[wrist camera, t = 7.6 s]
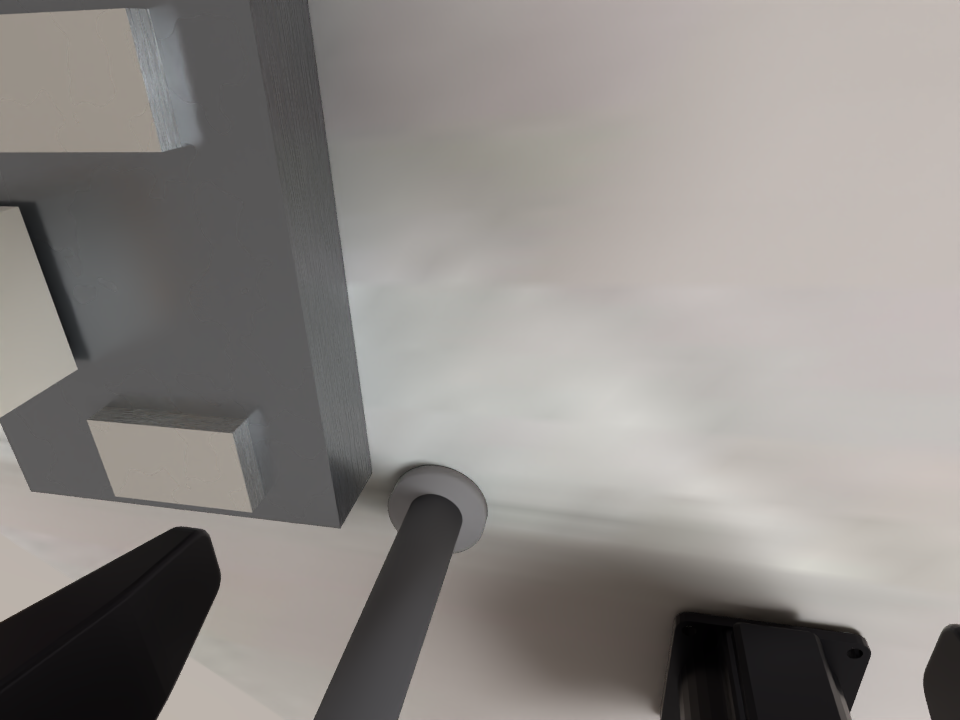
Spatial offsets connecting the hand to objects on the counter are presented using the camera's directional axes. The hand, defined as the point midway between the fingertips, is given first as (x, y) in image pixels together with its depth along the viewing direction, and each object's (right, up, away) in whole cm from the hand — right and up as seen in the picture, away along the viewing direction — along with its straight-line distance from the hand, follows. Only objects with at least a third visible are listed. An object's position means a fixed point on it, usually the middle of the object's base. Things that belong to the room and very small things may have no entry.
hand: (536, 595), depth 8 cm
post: (-2, -2, +16) cm, 16 cm away
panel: (-11, +6, +13) cm, 18 cm away
